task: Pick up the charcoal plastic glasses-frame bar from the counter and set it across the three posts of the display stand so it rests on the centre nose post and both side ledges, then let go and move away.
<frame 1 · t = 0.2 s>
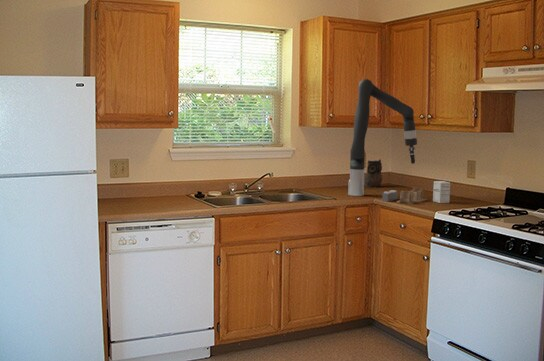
hand: (413, 162, 411), 22 cm above the table, tool pointing down, fingers open, 8 cm apart
owl: (372, 186, 468), on the table
supplement box: (441, 202, 392), on the table
display stand: (411, 201, 393), on the table
frame bar: (389, 200, 398), on the table
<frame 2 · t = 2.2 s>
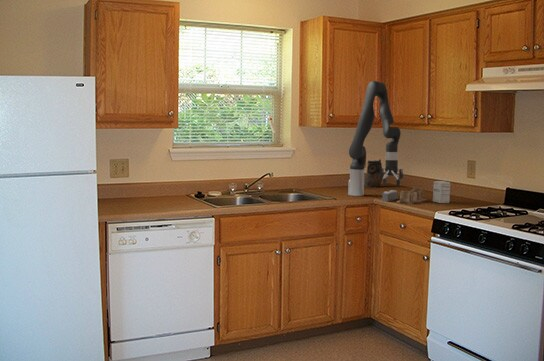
hand: (391, 185, 397), 9 cm above the table, tool pointing down, fingers open, 8 cm apart
nothing on the table moved.
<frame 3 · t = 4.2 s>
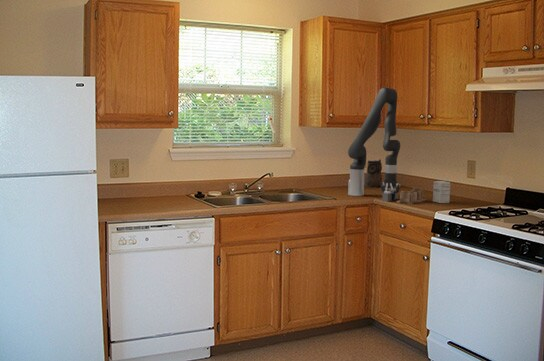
hand: (389, 199, 398), 0 cm above the table, tool pointing down, fingers closed on frame bar, 3 cm apart
frame bar: (390, 200, 398), on the table, touching gripper
everything else where it was.
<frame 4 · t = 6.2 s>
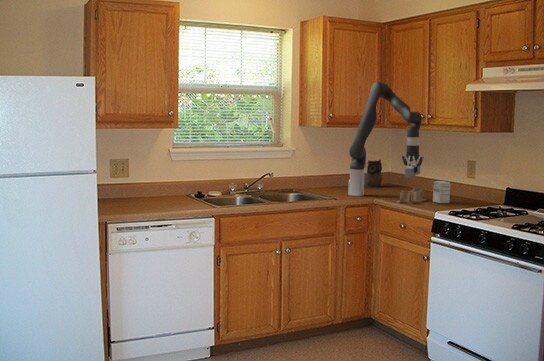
hand: (412, 172, 391), 18 cm above the table, tool pointing down, fingers closed on frame bar, 3 cm apart
frame bar: (412, 175, 392), point 16 cm above the table, tilted 5°, touching gripper
everything else where it was.
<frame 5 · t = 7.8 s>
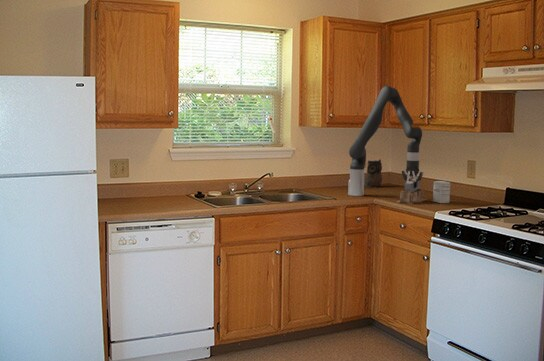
hand: (412, 187, 392), 9 cm above the table, tool pointing down, fingers closed on frame bar, 3 cm apart
frame bar: (412, 190, 393), point 7 cm above the table, touching gripper
everything else where it was.
when the fingers open (8 cm above the table, at t = 8.7 s): frame bar stays where it is, resting on display stand.
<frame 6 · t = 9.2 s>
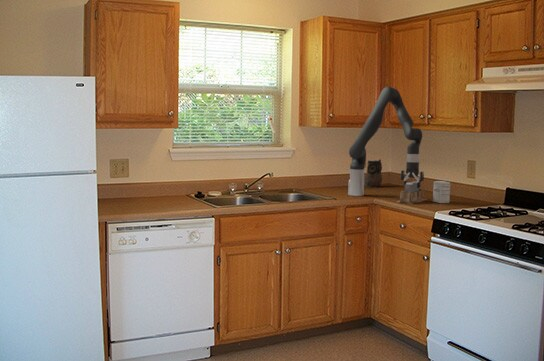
hand: (411, 187, 392), 9 cm above the table, tool pointing down, fingers open, 8 cm apart
frame bar: (412, 191, 393), point 6 cm above the table, touching display stand
everything else where it was.
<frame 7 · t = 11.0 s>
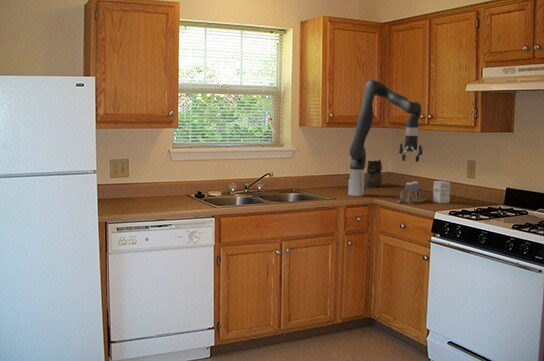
hand: (410, 161, 393), 25 cm above the table, tool pointing down, fingers open, 8 cm apart
nothing on the table moved.
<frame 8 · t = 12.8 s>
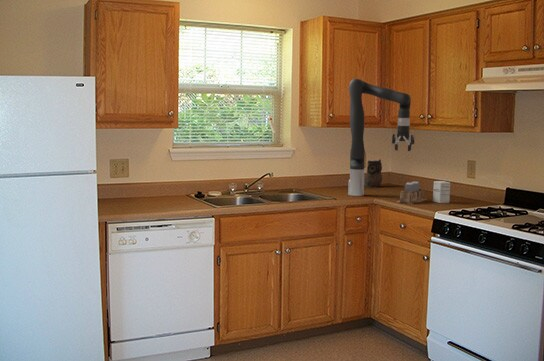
hand: (402, 150, 406), 30 cm above the table, tool pointing down, fingers open, 8 cm apart
nothing on the table moved.
at the end: frame bar 0.5 cm off-centre on the display stand, point 6.0 cm above the display stand's base; frame bar touching display stand; the gripper is holding nothing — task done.
